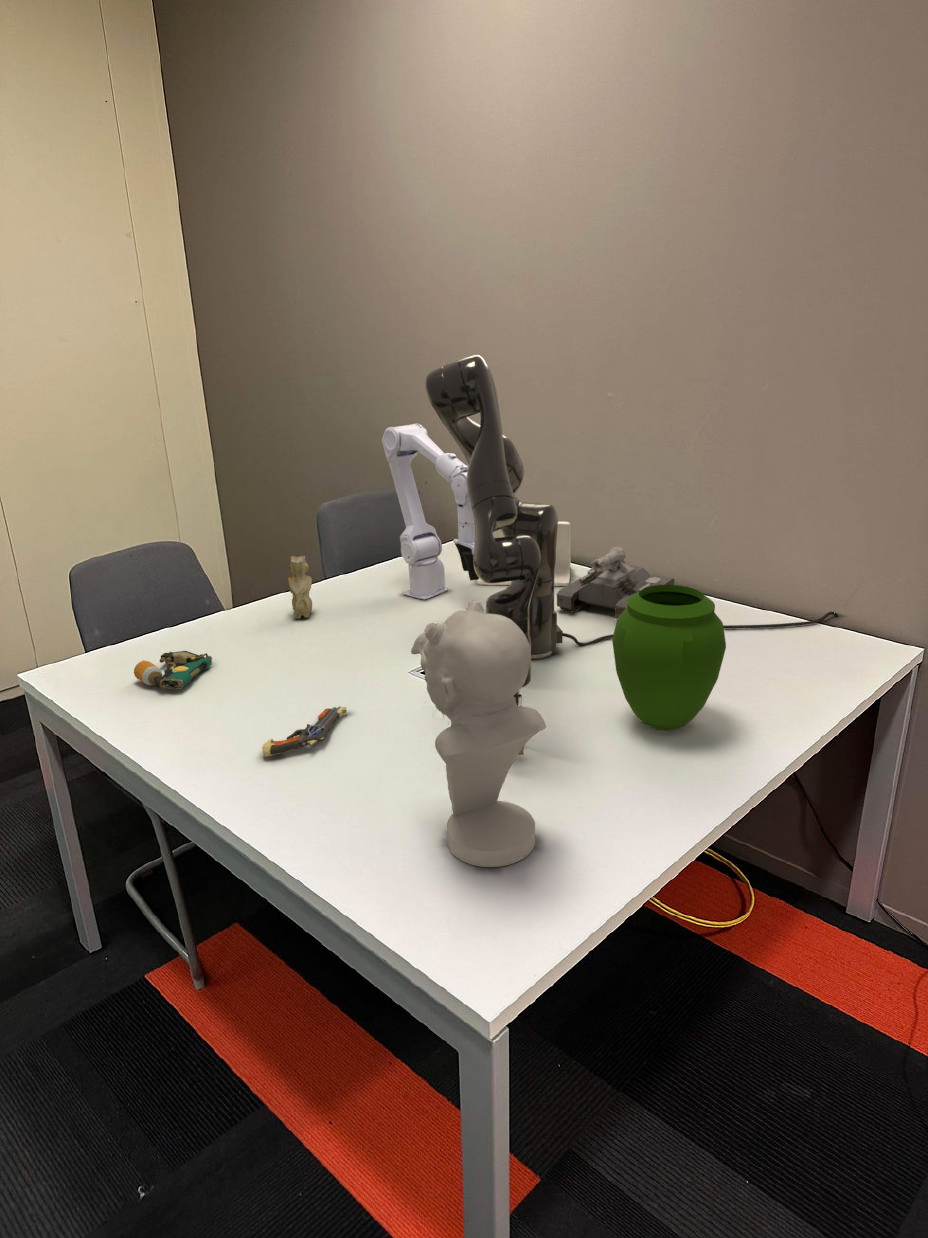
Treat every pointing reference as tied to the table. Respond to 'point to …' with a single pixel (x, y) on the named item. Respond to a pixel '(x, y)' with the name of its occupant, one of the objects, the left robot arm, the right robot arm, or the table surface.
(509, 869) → the table surface
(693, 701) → the vase
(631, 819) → the table surface
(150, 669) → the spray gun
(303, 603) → the sculpture
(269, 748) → the toy gun
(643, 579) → the toy
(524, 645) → the bust sculpture
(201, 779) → the table surface
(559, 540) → the tablet stand
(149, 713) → the table surface
